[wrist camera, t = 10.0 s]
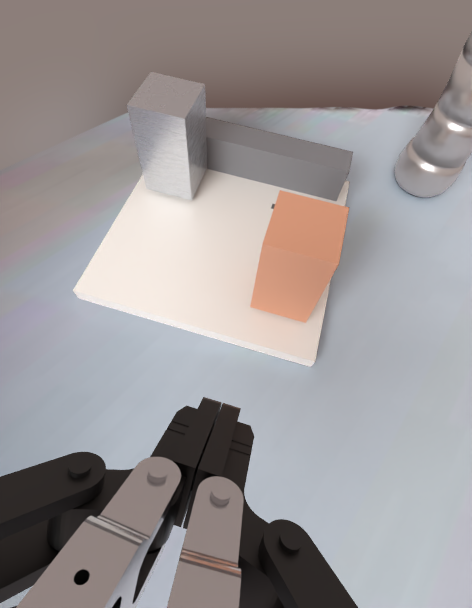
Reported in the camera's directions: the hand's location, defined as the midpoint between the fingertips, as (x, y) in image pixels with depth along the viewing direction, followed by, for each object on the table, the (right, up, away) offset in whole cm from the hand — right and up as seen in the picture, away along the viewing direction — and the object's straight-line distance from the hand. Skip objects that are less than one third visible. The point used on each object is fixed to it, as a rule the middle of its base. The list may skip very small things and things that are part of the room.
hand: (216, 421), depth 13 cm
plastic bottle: (+22, +19, +28) cm, 40 cm away
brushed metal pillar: (-6, +18, +24) cm, 30 cm away
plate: (0, +11, +23) cm, 25 cm away
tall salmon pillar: (+5, +6, +18) cm, 19 cm away
